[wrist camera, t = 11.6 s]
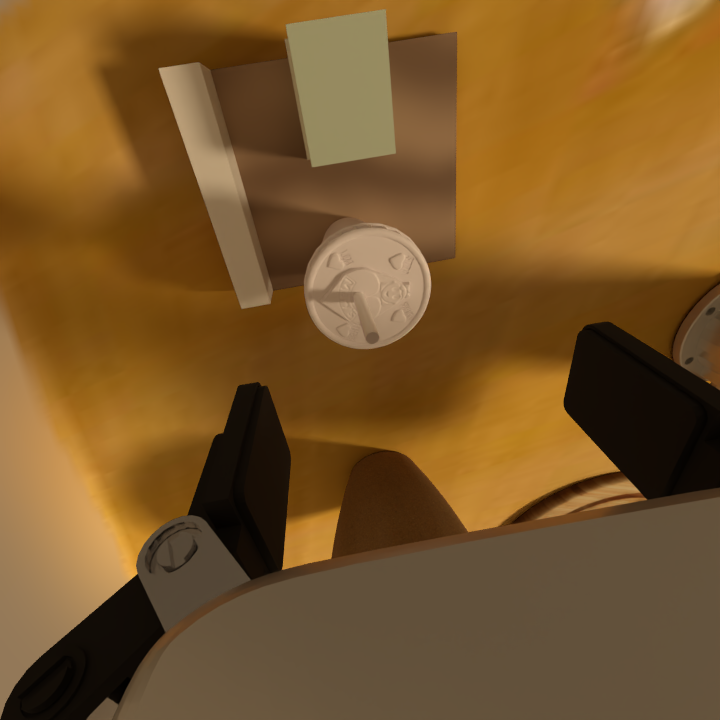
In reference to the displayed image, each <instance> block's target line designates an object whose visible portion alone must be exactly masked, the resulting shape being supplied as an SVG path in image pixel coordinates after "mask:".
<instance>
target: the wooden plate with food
mask: <svg viewBox="0 0 720 720" xmlns="http://www.w3.org/2000/svg"><path fill="white" fill-rule="evenodd" d="M644 500H647V499H646V498H645V497H644V496H643V495H642V494H641V493H640V492H639V490H638V489H637V488H636V487H635V486H634V485H633V484H632V483H631V482H630V481H629V480H628V478H627V477H626V476H625V475H624V474H623V473H622V472H617V473H613V474H608V475H603V476H599V477H596V478H592V479H589V480H586V481H583V482H580V483H578V484H575V485H573V486H570V487H568V488H566V489H564V490H561V491H559V492H557V493H555V494H553V495H551V496H550V497H548V498H546V499H544V500H543V501H541V502H539V503H538V504H536V505H535V506H533V507H532V508H530V509H529V510H528V511H526V512H525V513H524V514H522V515H521V516H520V517H519V518H518V519H517V520H516V521H514V522H513V523H512V524H516V523H522V522H527V521H533V520H538V519H544V518H549V517H555V516H560V515H566V514H571V513H577V512H582V511H588V510H593V509H599V508H604V507H610V506H616V505H621V504H627V503H633V502H638V501H644Z"/></svg>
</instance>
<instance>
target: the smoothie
mask: <svg viewBox="0 0 720 720" xmlns="http://www.w3.org/2000/svg"><path fill="white" fill-rule="evenodd" d="M430 293H431V277H430V271H429V268H428V265H427V262H426V260H425V258H424V256H423V255H422V253H421V251H420V249H419V248H418V247H417V246H416V245H415V243H414V242H413V241H412V240H411V238H410V237H408V236H407V235H405V234H404V233H402V232H401V231H399V230H398V229H396V228H393V227H390V226H387V225H384V224H381V223H366V222H363V221H361V220H359V219H356V218H349V217H348V218H342V219H339V220H337V221H335V222H334V223H333V224H331V225H330V227H329V228H328V229H327V231H326V233H325V235H324V238H323V241H322V244H321V245H320V246H319V247H318V248H317V249H316V250H315V252H314V254H313V256H312V258H311V259H310V261H309V263H308V265H307V270H306V274H305V278H304V296H305V300H306V305H307V309H308V312H309V315H310V317H311V319H312V320H313V322H314V324H315V325H316V326H317V328H318V329H319V330H320V331H321V332H322V333H323V334H324V335H325V336H326V337H328V338H329V339H331V340H332V341H334V342H336V343H338V344H340V345H343V346H346V347H350V348H355V349H373V348H379V347H382V346H386V345H388V344H391V343H393V342H395V341H397V340H399V339H400V338H402V337H403V336H405V335H406V334H407V333H408V332H410V331H411V330H412V329H413V328H414V327H415V325H416V324H417V323H418V322H419V320H420V319H421V317H422V316H423V314H424V312H425V310H426V308H427V305H428V302H429V298H430Z"/></svg>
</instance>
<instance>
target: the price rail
mask: <svg viewBox="0 0 720 720" xmlns="http://www.w3.org/2000/svg"><path fill="white" fill-rule="evenodd" d="M158 69H159V72H160V75H161V78H162V81H163V84H164V87H165V90H166V93H167V96H168V99H169V102H170V104H171V107H172V110H173V113H174V116H175V119H176V122H177V125H178V127H179V130H180V133H181V136H182V139H183V142H184V145H185V148H186V151H187V153H188V156H189V159H190V162H191V165H192V168H193V171H194V174H195V176H196V179H197V182H198V184H199V187H200V190H201V193H202V196H203V199H204V202H205V205H206V208H207V210H208V213H209V216H210V219H211V222H212V225H213V228H214V231H215V234H216V236H217V240H218V243H219V246H220V249H221V252H222V255H223V257H224V260H225V263H226V266H227V269H228V272H229V275H230V278H231V281H232V283H233V286H234V289H235V292H236V295H237V298H238V301H239V303H240V306H241V309H244V308H250V307H255V306H261V305H266V304H271V299H272V294H273V288H272V285H271V281H270V278H269V274H268V271H267V267H266V264H265V260H264V257H263V253H262V250H261V246H260V243H259V239H258V236H257V232H256V229H255V225H254V222H253V218H252V215H251V211H250V208H249V204H248V201H247V197H246V194H245V190H244V187H243V183H242V180H241V176H240V173H239V169H238V166H237V162H236V159H235V155H234V152H233V148H232V145H231V141H230V138H229V134H228V131H227V127H226V124H225V120H224V117H223V113H222V110H221V106H220V103H219V99H218V96H217V92H216V89H215V85H214V82H213V78H212V75H211V71H210V70H209V69H208V68H207V67H205V66H204V65H202V64H201V63H200V62H196V63H190V64H183V65H177V66H170V67H164V68H158Z"/></svg>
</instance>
